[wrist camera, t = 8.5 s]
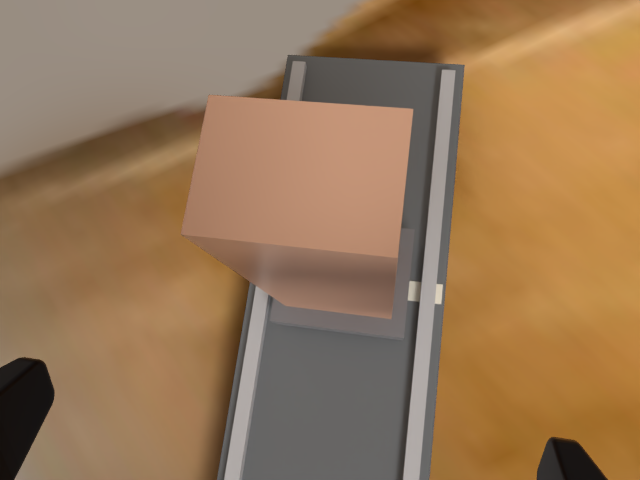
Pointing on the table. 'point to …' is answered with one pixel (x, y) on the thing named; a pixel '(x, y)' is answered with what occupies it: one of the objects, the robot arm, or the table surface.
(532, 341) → the table surface
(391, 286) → the fader
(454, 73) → the grey slider rail base
